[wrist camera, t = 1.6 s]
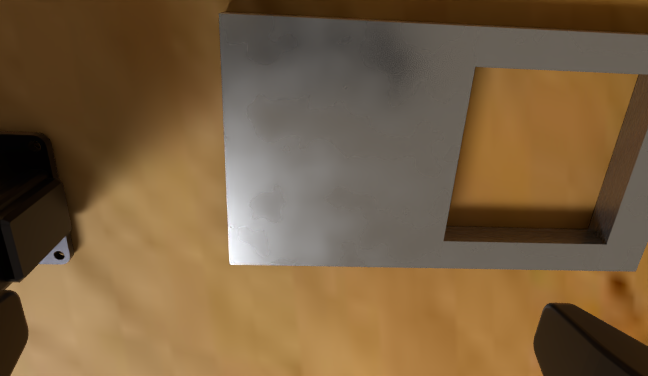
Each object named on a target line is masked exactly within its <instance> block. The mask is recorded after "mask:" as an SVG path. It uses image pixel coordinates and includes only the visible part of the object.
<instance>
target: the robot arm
mask: <svg viewBox="0 0 648 376" xmlns="http://www.w3.org/2000/svg"><path fill="white" fill-rule="evenodd" d="M34 141H37V142H38V143H39V144H40V146H41V149H39V148H37V147H35V145H34ZM71 230H72V226H71V222H70V217H69V212H68V207H67V202H66V197H65V192H64V187H63V183H62V182H61V181H60V180H59V178H58V173H57V168H56V163H55V159H54V154H53V149H52V144H51V142H50V139H49V138H48V137H47V136H46V135H44V134H42V133H38V132H10V131H0V376H10V375H11V373H12V371H13V369H14V367H15V365H16V363H17V361H18V359H19V357H20V355H21V353H22V351H23V349H24V347H25V345H26V343H27V340H28V326H27V322H26V319H25V315H24V311H23V308H22V304H21V300H20V297H19V295H18V294H17V293H16V292H14V291H11V290H5V289H6V288H7V287H8V286H9V285H10V284H11V283H12V282H21V281H22V280H23V279H24V278H25V277H26V276H27V275H28V274H29V273H30V272H31V271H32V270H33V269H34V268H35V267H36V266H37V265H38V264H65V263H67V262H68V261H69V260H70V259H71V258H72V257H73V255H74V250H73V245H72V240H71V235H70V231H71ZM58 251H61V252H62V253H64V255H65V256H64V255H61V254H59V252H58ZM533 344H534V351H535V355H536V357H537V360H538V363H539V365H540V368H541V371H542V373H543V376H648V346H646V345H645V344H643V343H641V342H639V341H638V340H636V339H634V338H632V337H630V336H629V335H627V334H625V333H623V332H622V331H620V330H618V329H616V328H614V327H613V326H611V325H609V324H607V323H606V322H604V321H602V320H600V319H598V318H597V317H595V316H593V315H591V314H590V313H588V312H586V311H584V310H582V309H581V308H579V307H577V306H575V305H573V304H570V303H549V304H547V305H546V306H545V307H544V309H543V311H542V315H541V318H540V321H539V324H538V327H537V330H536V333H535V336H534V343H533Z"/></svg>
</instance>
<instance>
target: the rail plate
mask: <svg viewBox="0 0 648 376" xmlns="http://www.w3.org/2000/svg"><path fill="white" fill-rule="evenodd" d="M219 29H220V52H221V75H222V98H223V121H224V144H225V167H226V190H227V213H228V237H229V260H230V265H285V266H345V267H404V268H463V269H522V270H582V271H636V270H637V267H638V265H639V262H640V260H641V257H642V255H643V252H644V249H645V247H646V244H647V242H648V33H629V32H609V31H590V30H570V29H551V28H531V27H511V26H492V25H472V24H453V23H433V22H414V21H394V20H375V19H355V18H335V17H316V16H296V15H277V14H257V13H238V12H222V13H219ZM475 67H491V68H513V69H535V70H558V71H580V72H602V73H624V74H639V76H638V80H637V83H636V86H635V89H634V92H633V95H632V98H631V101H630V104H629V107H628V110H627V113H626V116H625V119H624V122H623V125H622V128H621V131H620V134H619V137H618V140H617V143H616V146H615V149H614V152H613V155H612V158H611V161H610V164H609V167H608V170H607V173H606V176H605V179H604V182H603V185H602V188H601V191H600V194H599V198H598V201H597V204H596V207H595V210H594V213H593V216H592V219H591V222H590V225H589V228H588V229H549V228H505V227H461V226H446V224H447V219H448V213H449V208H450V202H451V197H452V191H453V186H454V180H455V175H456V169H457V164H458V159H459V153H460V148H461V142H462V137H463V131H464V126H465V120H466V115H467V109H468V104H469V98H470V93H471V87H472V82H473V76H474V71H475Z"/></svg>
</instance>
